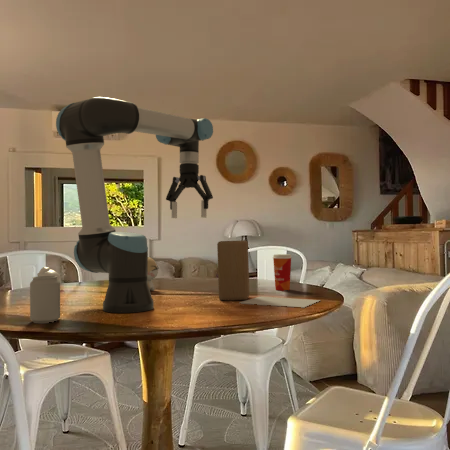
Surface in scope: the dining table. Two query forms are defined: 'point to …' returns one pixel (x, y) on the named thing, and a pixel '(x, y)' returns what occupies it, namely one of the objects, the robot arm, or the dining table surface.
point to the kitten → (152, 272)
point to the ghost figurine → (48, 273)
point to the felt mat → (280, 301)
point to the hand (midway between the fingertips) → (188, 218)
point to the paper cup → (282, 271)
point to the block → (233, 270)
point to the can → (44, 299)
